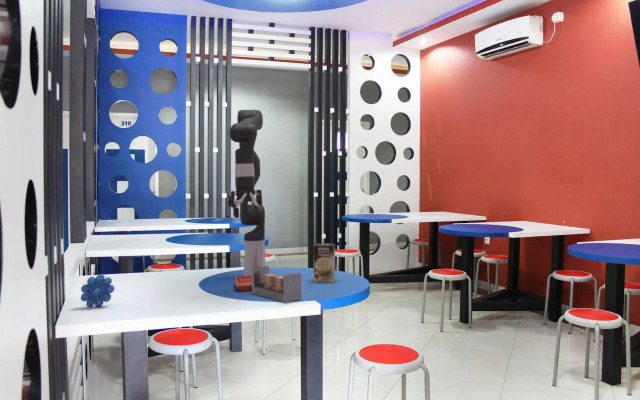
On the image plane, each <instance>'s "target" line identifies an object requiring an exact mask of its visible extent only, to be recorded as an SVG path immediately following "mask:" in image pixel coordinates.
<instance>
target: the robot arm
mask: <svg viewBox="0 0 640 400" xmlns="http://www.w3.org/2000/svg"><path fill="white" fill-rule="evenodd" d="M263 117H264V116H263V113H262V111H261V110H258V109H240V110H238V112H237V117H236V118H237V121H236V123H233V124H232V125H231V126H230V129H229V133H228V135H229V138H230V139H231V140H232V141H233V143H238V145H239V148H237V149H236V150H235V151H234V159H235V160H234V162H235V164H234V166H235V167H234V183H235V184H234V185H235V191H234V190H229V191H228V201H227V202H228V204H227V206H228V207H230V208H232V211H233V214H232V215H233V217H234V218H235V219H239V220H240V224H241V225H242V226H255V227H254V228H253V229H252V230H250V231H249V232H245V234H243V246H244V248H243V249H244V256H243V276H252V268H258V267H264V266H266V243H265V242H266V241H265V239H266V238H265V235H266V234H265V233H266V228H265V227H266V226H265V224H266V221H265V220H266V210H265V206H264V205H263V194H262V189H255V187H256V185H257V183H258V181H259V180H260V176H261V160H260V157H259V155H258V154H257V153H256V151H255V145H256V141H257V137H258V131H260V130H261V129H262V128H263V125H264V118H263ZM235 197H236V198H235Z"/></svg>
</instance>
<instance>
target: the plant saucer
mask: <svg viewBox="0 0 640 400" xmlns="http://www.w3.org/2000/svg"><path fill="white" fill-rule="evenodd" d="M235 286H236V288H237V289H238V290H239V291H240V292H249V291H252V276H244V275H242V276H241V275H240V276H235Z"/></svg>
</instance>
